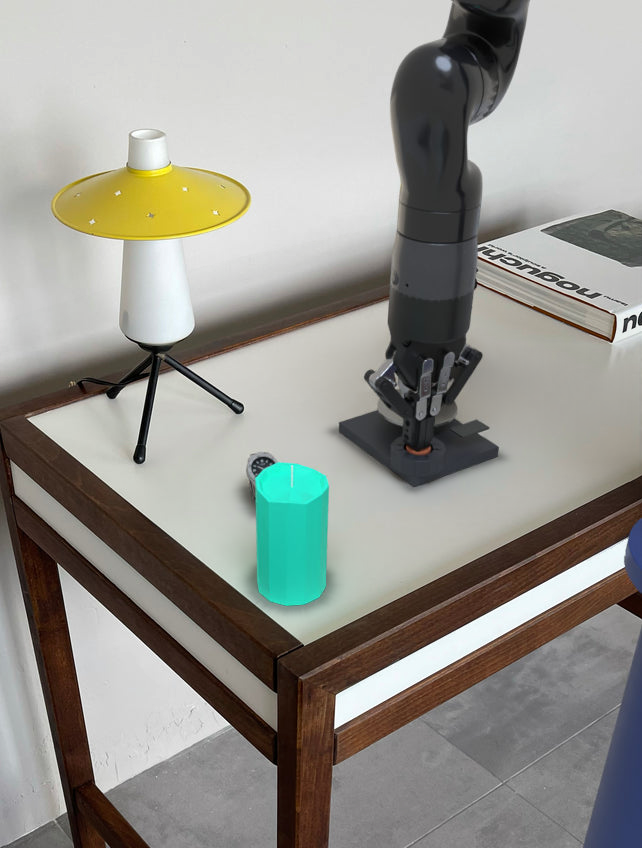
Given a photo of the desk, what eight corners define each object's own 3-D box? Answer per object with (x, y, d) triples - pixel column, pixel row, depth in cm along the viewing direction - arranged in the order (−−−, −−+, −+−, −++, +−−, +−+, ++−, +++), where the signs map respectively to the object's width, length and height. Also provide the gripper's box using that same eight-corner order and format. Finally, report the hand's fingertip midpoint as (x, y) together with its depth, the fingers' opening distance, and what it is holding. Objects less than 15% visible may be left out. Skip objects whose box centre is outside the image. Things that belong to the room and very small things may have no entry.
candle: (246, 571, 89) (243, 454, 82) (309, 556, 91) (311, 440, 84) (271, 612, 84) (270, 492, 77) (337, 596, 86) (342, 476, 79)
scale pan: (494, 427, 104) (494, 424, 103) (429, 449, 100) (430, 446, 100) (423, 383, 112) (423, 380, 111) (361, 403, 108) (361, 399, 108)
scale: (502, 459, 104) (505, 434, 102) (411, 492, 99) (414, 466, 97) (418, 405, 114) (421, 381, 112) (332, 433, 109) (333, 408, 107)
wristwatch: (251, 517, 96) (250, 472, 93) (238, 483, 101) (237, 439, 98) (287, 513, 96) (287, 468, 94) (273, 478, 101) (273, 435, 99)
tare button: (434, 461, 101) (435, 448, 100) (415, 468, 100) (416, 455, 99) (419, 451, 103) (420, 438, 102) (400, 458, 102) (401, 444, 101)
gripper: (399, 309, 85) (386, 482, 95) (516, 278, 91) (493, 444, 101) (347, 281, 90) (340, 448, 100) (461, 253, 96) (444, 413, 106)
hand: (417, 446), depth 100 cm, fingers closed
